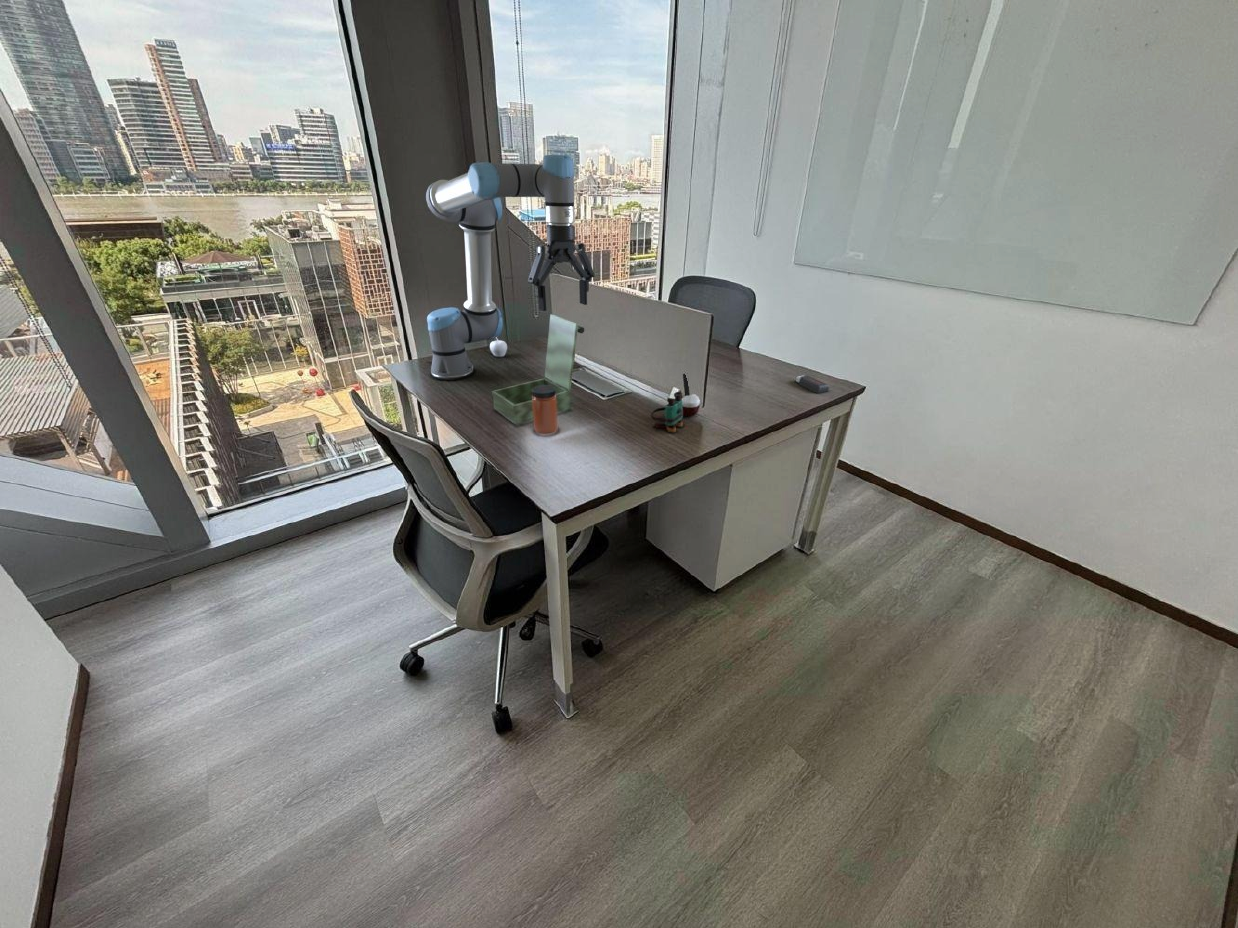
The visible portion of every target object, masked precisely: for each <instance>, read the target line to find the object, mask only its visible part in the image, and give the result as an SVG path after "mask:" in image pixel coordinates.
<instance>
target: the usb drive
mask: <svg viewBox="0 0 1238 928" xmlns="http://www.w3.org/2000/svg"><path fill="white" fill-rule="evenodd" d="M795 382H797V383H798V385H799V386H800V387H803V388H805V389H807V390H810V391H812V392H813V393H816V394H820V393H825V392H829V389H830V386H829V385H828V384H827V383H826V382H823V381H822V380H819V379H817V378H814V377H812V376H810V375H799V376H796V378H795Z"/></svg>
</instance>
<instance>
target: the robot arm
mask: <svg viewBox="0 0 1238 928" xmlns="http://www.w3.org/2000/svg"><path fill="white" fill-rule="evenodd" d="M501 198H544V208H545V209H544V211H545V223H547V225H546V226H545V229H546V231H545V232H546V239H547V240H546V241H547V245H541V244H538V245H537V246H536V253H535V254H536V255H535V258H534V261H533V264H532V267H531V270H530V273H529V275H528V277H527V278H528V279H527V282H528V283H529V284H532V285H534V291H535V297H536V298H537V299H538V309H539V310H540V311H543V312H546V311H547V296H546V295H547V294H546V285H544V282H545V281H546V279H547V278H548V276H549V275H550V273H551V271H552V269H554V267H555V266H556V265H557V264H562V263H570V265H571V266H572V267H573V269H574V270H575V271H576V272H577V274H578V276H579V277H580V278H581V279H579V280H578V281H579V283H578V285H579V304H581V305H584V306H587V305H588V292H589V290H590V281H592V278H595V276H596V274H595V272H594V269H593V266H592V264H591V261H590V259H589V256H588V254H587V252H586V244H585V243H584V242H576V243H575V240H576V227H575V225H574V223H575V172H574V160H573V158H572V156H570V155H564V154H545V155H544V156H543V157H542V164H539V163H538V164H537V163H502V162H501V163H500V162H488V161H481V162H473V163H471V165H470V166H469V169H468V172H466V173H464V174H461V175H459V176H456V177H454V178H451V179H439V180H437V181H434V182H432V183H431V184H430V185H429V186H428V187H427V190H426V193H425V199H426V200H425V201H426V204H427V207H428V209H429V210H430V211H431V213H432V214H433V215H434V216H436V217H437V218H439V219H441V220H443V221H446V222H451V223H458V226H459V227H460V228H461V229H462V230H463V234H464V235H463V236H464V253H465V272H466V292H467V293H466V294H467V299H466V300H465V301H464V302H463V310H460V309H459V307H458V308H457V307H451V306H450V307H442V308H438V309H435V310H433V311H431V312H430V313H429V314H428V315H427V317H426V322H427V330H428V334H429V340H430V345H431V350H432V359H428V362H430V363H431V367H430V375H431V377H432V378H434V379H436V380H440V381H454V380H461V379H465V378H468V377H470V376H472V375H473V373H474V365H473V364H472V362H471V360H470V358H469V356H468V353H467V352H466V351H467V350H466V344H471V343H476V342H481V341H489V340H491V339H496V337H497V338H498V337H499V336H500V335H501V333H502V331H503V326H504V322H503V317H502V313H501V311H500V309H499V308H498V307H497V304H496V303H495V302H494V301H493V297H492V296H493V289H492V285H493V284H492V242H491V241H492V240H491V239H492V235H491V234H492V232H494V231H495V229H496V222H498V221H500V220H501V218H502V215H503V205H502V200H501ZM575 252H577V256H578V258H579V260H580V262H579V260H578V258H577V257H576V255H575ZM547 254H548V256H547V257H546V255H547ZM545 258H546V259H545ZM544 261H545V263H544Z"/></svg>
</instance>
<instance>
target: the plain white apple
mask: <svg viewBox="0 0 1238 928" xmlns="http://www.w3.org/2000/svg"><path fill="white" fill-rule="evenodd" d="M495 339H496V340H493V341H491V342H490V344H489V349H490V352H491V353H492V355H493V356H495V357H496V358H503V357H505V356H506V353H507V351H508V344H507V342H506V341H504V340H501V339H498V336H497V337H496V338H495Z"/></svg>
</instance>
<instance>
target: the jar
mask: <svg viewBox="0 0 1238 928" xmlns="http://www.w3.org/2000/svg"><path fill="white" fill-rule="evenodd" d="M532 407H533V420H532V421H533V430H534V432H536V433H538V434H540V435H548V434H554V433H555V432H558V430H559V421H558V412H557V400H556V395H555V387H553V386H551V385H538V386H535V387H533V388H532Z"/></svg>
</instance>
